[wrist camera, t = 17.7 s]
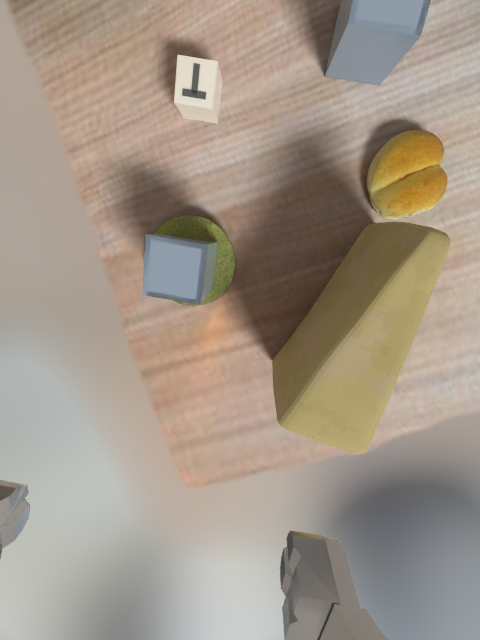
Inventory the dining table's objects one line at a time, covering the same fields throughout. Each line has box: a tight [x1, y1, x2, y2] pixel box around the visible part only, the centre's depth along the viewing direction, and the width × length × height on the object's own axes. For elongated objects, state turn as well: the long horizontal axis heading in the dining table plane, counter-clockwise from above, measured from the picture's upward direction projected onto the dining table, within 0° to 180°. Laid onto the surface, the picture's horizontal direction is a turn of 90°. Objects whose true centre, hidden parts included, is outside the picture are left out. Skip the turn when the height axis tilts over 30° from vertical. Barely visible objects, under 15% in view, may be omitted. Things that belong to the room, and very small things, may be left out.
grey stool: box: [142, 234, 218, 305], centre depth 31 cm, size 6×6×8 cm
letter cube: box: [174, 55, 222, 123], centre depth 30 cm, size 4×4×4 cm
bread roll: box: [367, 130, 447, 220], centre depth 31 cm, size 8×9×4 cm
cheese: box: [272, 222, 450, 454], centre depth 31 cm, size 22×10×15 cm, turn 160°
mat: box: [154, 215, 235, 306], centre depth 36 cm, size 11×11×2 cm
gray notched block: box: [325, 0, 431, 85], centre depth 26 cm, size 6×6×8 cm
